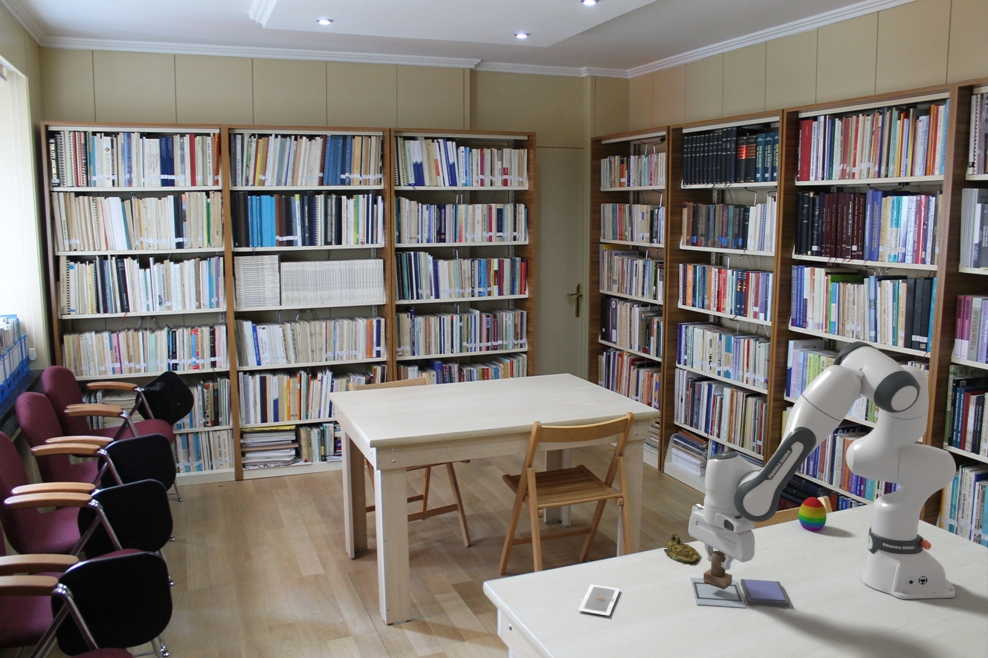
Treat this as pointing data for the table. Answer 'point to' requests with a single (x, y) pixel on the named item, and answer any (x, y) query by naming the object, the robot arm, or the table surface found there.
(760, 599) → the ink pad
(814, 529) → the decorative egg
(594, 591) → the touchpad
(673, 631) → the table surface
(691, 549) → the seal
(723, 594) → the marked card
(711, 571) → the stamp
